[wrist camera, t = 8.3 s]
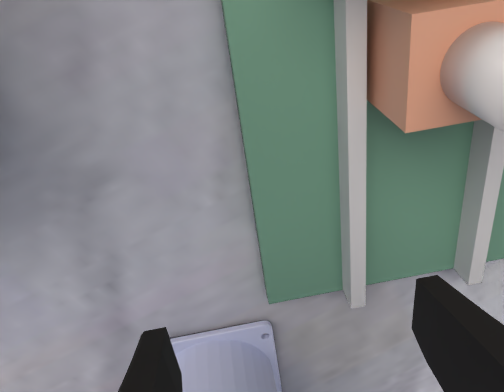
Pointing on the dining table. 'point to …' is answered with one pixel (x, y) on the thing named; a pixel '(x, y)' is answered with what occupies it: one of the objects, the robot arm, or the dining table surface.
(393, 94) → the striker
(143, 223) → the dining table surface
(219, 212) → the dining table surface
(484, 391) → the robot arm
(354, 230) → the pitch board
